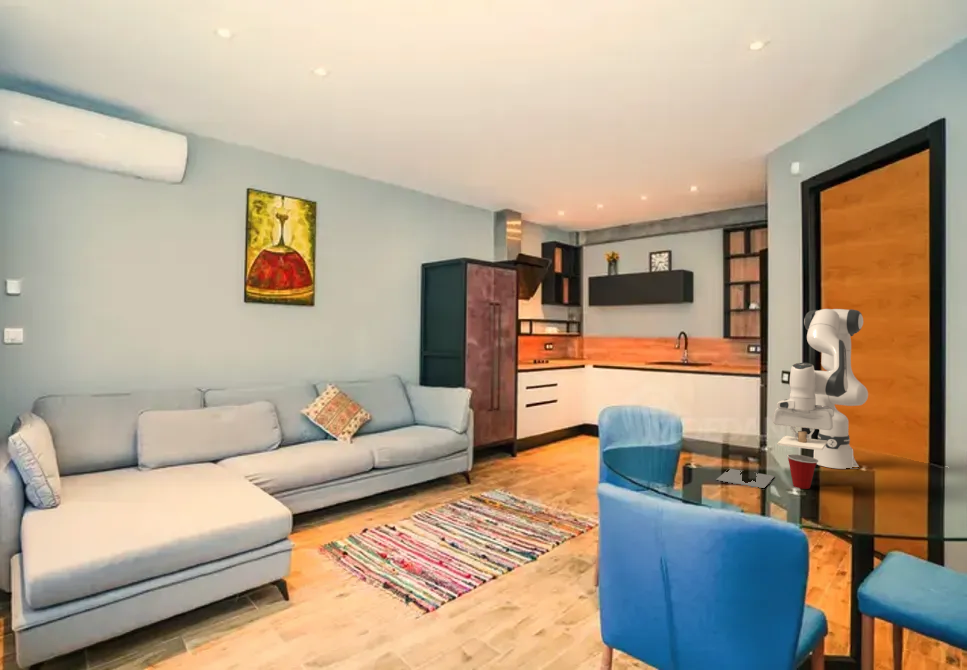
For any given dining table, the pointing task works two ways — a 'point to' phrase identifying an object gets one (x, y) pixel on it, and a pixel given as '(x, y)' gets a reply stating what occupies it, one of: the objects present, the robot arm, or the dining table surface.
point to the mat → (736, 478)
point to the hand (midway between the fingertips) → (802, 438)
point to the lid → (802, 442)
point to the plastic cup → (801, 470)
